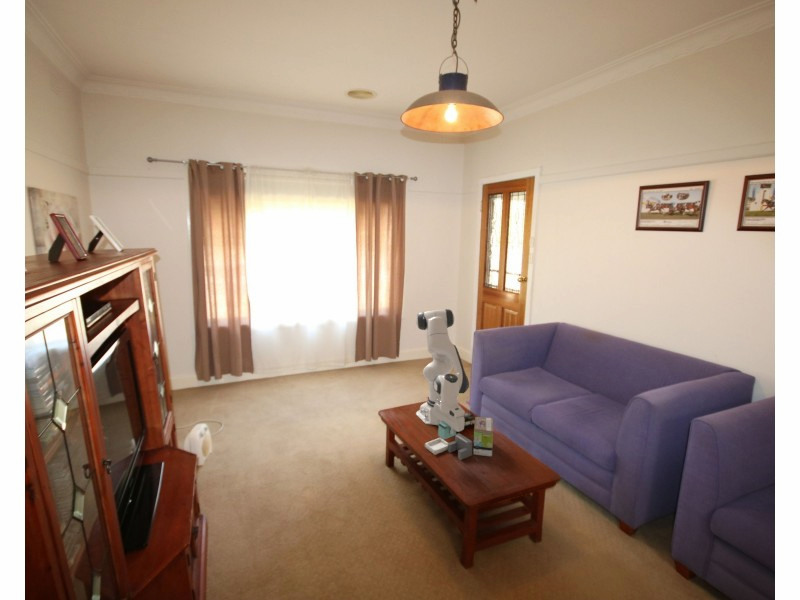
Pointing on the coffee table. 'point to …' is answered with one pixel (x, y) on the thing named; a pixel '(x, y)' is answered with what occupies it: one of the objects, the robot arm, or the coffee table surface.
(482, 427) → the tea box
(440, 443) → the tray
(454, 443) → the block
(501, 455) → the coffee table surface
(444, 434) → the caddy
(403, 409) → the coffee table surface
